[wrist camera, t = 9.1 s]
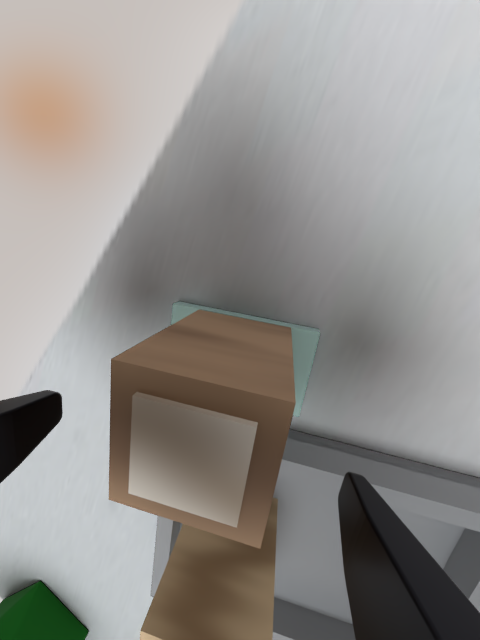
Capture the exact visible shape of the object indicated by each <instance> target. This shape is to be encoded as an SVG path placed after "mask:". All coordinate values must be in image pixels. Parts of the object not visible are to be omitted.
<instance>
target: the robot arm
mask: <svg viewBox="0 0 480 640" xmlns="http://www.w3.org/2000/svg"><path fill="white" fill-rule="evenodd" d="M61 418H62V396H61V394H60V393H58V392H54V391H50V390H45V391H41V392H36V393H32V394H28V395H23V396H19V397H15V398H10V399H6V400H2V401H0V483H1V482H2V481H3V480H4V479H5V478H6V477H7V476H9V475H10V474H11V473H12V472H13V471H14V470H15V469H16V468H17V467H18V466H19V465H20V464H21V463H22V462H23V461H24V460H25V459H26V457H27V456H28V455H29V454H30V453H31V452H32V451H33V450H34V449H35V448H36V447H37V446H38V445H39V443H40V442H41V441H42V440H43V439H44V438H45V437H46V436H47V435H48V434H49V433H50V432H51V430H52V429H53V428H54V427H55V426H56V425H57V424H58V423H59V422H60V420H61ZM338 511H339V522H340V534H341V546H342V557H343V567H344V576H345V582H346V588H347V594H348V600H349V605H350V611H351V617H352V622H353V628H354V634H355V639H356V640H480V612H479V611H478V610H477V609H476V607H475V606H474V605H473V604H472V603H471V601H470V600H469V599H468V598H467V597H466V596H465V594H464V593H463V592H462V591H461V590H460V589H459V587H458V586H457V585H456V584H455V583H454V581H453V580H452V579H451V578H450V577H449V576H448V574H447V573H446V572H445V571H444V570H443V569H442V567H441V566H440V565H439V564H438V563H437V561H436V560H435V559H434V558H433V557H432V556H431V554H430V553H429V552H428V551H427V550H426V549H425V547H424V546H423V545H422V544H421V543H420V541H419V540H418V539H417V538H416V537H415V536H414V534H413V533H412V532H411V531H410V530H409V529H408V527H407V526H406V525H405V524H404V523H403V521H402V520H401V519H400V518H399V517H398V516H397V514H396V513H395V512H394V511H393V510H392V508H391V507H390V506H389V505H388V504H387V503H386V501H385V500H384V499H383V498H382V497H381V496H380V494H379V493H378V492H377V491H376V490H375V488H374V487H373V486H372V485H371V484H370V483H369V481H368V480H367V479H366V478H365V477H364V476H363V475H361V474H357V473H354V472H350V471H349V472H347V473H346V474H345V476H344V479H343V482H342V485H341V488H340V491H339V494H338Z"/></svg>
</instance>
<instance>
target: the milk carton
mask: <svg viewBox="0 0 480 640" xmlns="http://www.w3.org/2000/svg"><path fill="white" fill-rule="evenodd" d="M88 632H89V631H88V630H87V629H86V628H85V627H84V626H83V625H82V624H81V623H80V622H79V621H78V620H77V619H76V618H75V616H74V615H73V614H72V613H71V612H70V611H69V610H68V609H67V608H66V607H65V606H64V605H63V604H62V603H61V602H60V601H59V600H58V599H57V598H56V597H55V596H54V594H53V593H52V592H51V591H50V590H49V589H48V588H47V587H46V586H45V585H44V584H43V583H42V582H41V581H39V582H37V583H35V584H33V585H31V586H29V587H27V588H25V589H23V590H21V591H19V592H17V593H15V594H13V595H11V596H9V597H7V598H5V599H4V600H3V601H2V602H1V603H0V640H85V638H86V636H87V634H88Z"/></svg>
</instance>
